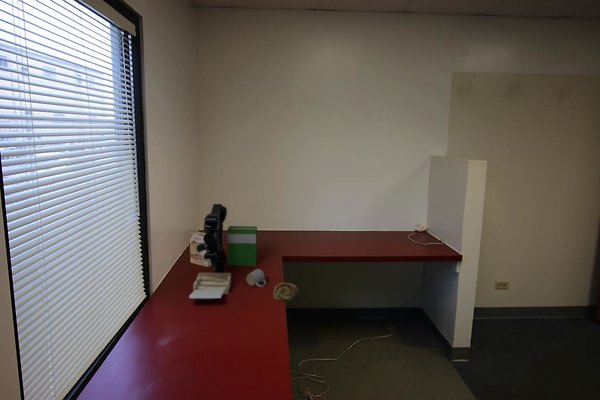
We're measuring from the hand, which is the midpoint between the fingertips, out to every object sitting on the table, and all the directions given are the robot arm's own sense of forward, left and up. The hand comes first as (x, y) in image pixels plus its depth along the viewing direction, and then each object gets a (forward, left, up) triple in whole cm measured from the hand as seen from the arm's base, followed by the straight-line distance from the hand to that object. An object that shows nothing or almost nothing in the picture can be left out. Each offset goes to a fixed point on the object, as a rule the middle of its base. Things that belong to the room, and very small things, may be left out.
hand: (213, 265), depth 199 cm
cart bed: (+2, -2, -12) cm, 12 cm away
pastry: (+32, +26, -12) cm, 43 cm away
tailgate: (+9, -6, -10) cm, 15 cm away
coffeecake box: (-36, +10, -12) cm, 40 cm away
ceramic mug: (+11, +21, -12) cm, 27 cm away
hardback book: (-21, +30, -12) cm, 39 cm away
